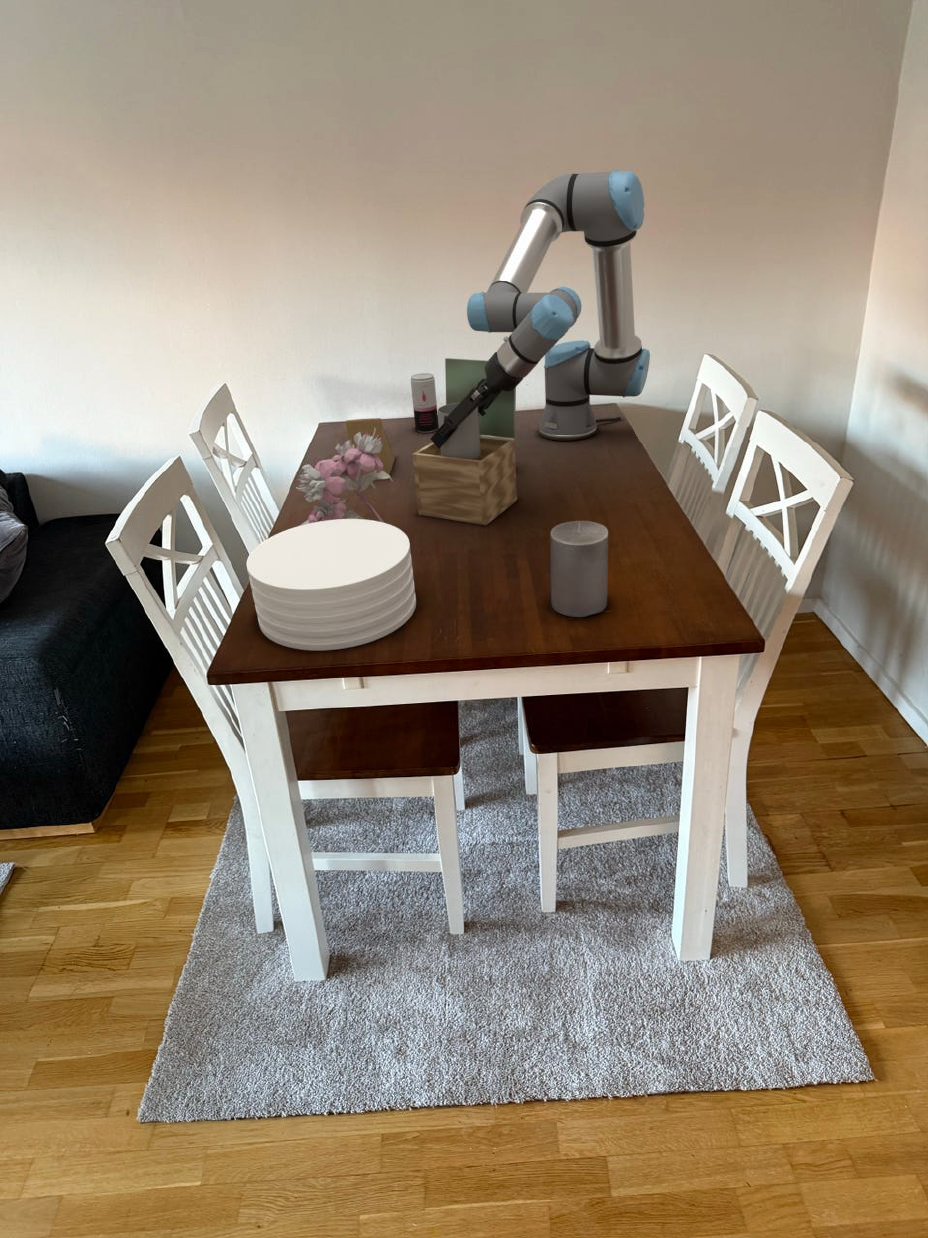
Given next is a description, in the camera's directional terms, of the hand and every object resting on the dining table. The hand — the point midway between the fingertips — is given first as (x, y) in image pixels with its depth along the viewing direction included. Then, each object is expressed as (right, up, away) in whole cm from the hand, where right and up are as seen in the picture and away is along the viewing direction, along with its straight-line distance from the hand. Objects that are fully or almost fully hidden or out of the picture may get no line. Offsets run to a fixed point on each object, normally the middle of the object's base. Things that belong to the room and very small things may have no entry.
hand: (446, 436), depth 184 cm
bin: (+5, -14, +8) cm, 17 cm away
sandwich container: (-19, -1, +34) cm, 39 cm away
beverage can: (-7, +14, +60) cm, 62 cm away
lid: (+7, +9, +3) cm, 12 cm away
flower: (-22, -23, -4) cm, 32 cm away
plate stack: (-19, -37, -29) cm, 51 cm away
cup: (+3, -4, 0) cm, 5 cm away
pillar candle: (+24, -36, -34) cm, 55 cm away
